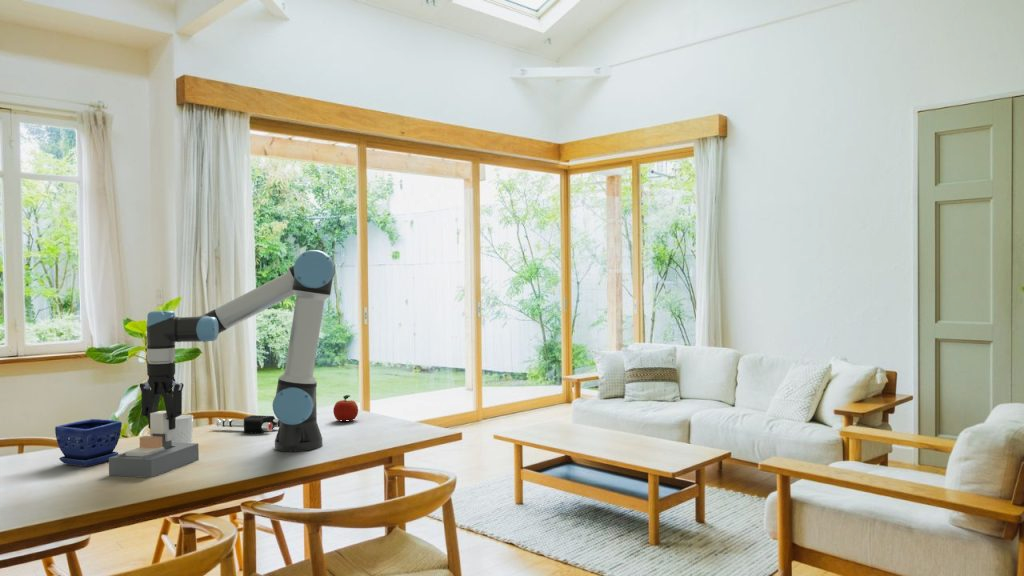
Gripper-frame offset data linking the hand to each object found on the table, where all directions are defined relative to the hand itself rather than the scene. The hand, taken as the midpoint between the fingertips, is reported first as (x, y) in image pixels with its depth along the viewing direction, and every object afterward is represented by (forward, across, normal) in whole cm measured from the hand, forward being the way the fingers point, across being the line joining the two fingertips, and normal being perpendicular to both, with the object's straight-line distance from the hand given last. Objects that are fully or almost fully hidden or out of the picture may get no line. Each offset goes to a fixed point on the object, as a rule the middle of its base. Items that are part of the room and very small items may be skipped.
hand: (162, 439), depth 207 cm
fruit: (+7, -25, -71) cm, 76 cm away
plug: (+3, 0, 0) cm, 3 cm away
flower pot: (+8, +25, +1) cm, 26 cm away
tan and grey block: (+2, 0, +7) cm, 7 cm away
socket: (+7, 0, +3) cm, 8 cm away
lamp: (+8, +4, -49) cm, 49 cm away
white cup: (+8, +11, -22) cm, 26 cm away
